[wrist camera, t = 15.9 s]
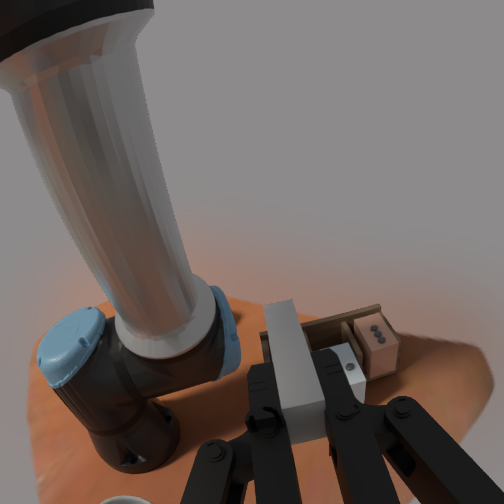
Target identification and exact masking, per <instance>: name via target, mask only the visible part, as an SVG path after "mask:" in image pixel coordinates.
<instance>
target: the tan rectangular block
mask: <svg viewBox="0 0 504 504" xmlns="http://www.w3.org/2000/svg"><path fill="white" fill-rule="evenodd" d="M354 338H355V340H356V342H357V344H358V346H359V347H360V349H361V351H362V353H363V366H364V368H365V370H366V372H367V374H368V376H369V378H373V377H376V376H379V375H382V374H385V373H388V372H391V371H394V370H395V366H396V360H397V353H398V346H399V342H398V341H397V339H396V338H395V336H394V335H393V333H392V332H391V330H390V329H389V327H388V326H387V325H386V323H385V322H384V320H383V319H382V317H381V316H380V314H379V313H376V314H372V315H369V316H365V317H362V318H358V319H354Z"/></svg>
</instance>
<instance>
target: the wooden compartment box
mask: <svg viewBox="0 0 504 504" xmlns="http://www.w3.org/2000/svg"><path fill="white" fill-rule="evenodd" d="M376 313H379V314H380V316H381V317H382V319H383V320H384V322H385V323H386V325H387V326H388V327H389V329H390V330H391V332H392V333H393V335H394V336H395V338H396V339H397V341H398V342H399V346H398V353H397V360H396V366H395V370H394V371H391V372H388V373H385V374H382V375H379V376H376V377H373V378H369V376H368V374H367V372H366V370H365V368H364V366H363V353H362V351H361V349H360V347H359V346H358V344H357V342H356V340H355V338H354V319H358V318H362V317H365V316H369V315H372V314H376ZM300 325H301V328H302V331H303V334H304V337H305V340H306V343H307V346H308V349H309V352H314V351H318V350H321V349H325V348H329V347H333V346H336V345H340V344H344V343H349V345H350V347H351V349H352V352H353V354H354V356H355V358H356V360H357V362H358V364H359V366H360V368H361V370H362V372H363V374H364V377H365V379H366V382H369V381H372V380H375V379H378V378H381V377H384V376H387V375H390V374H393V373H396V372H398V366H399V360H400V353H401V346H402V341H401V339H400V338H399V336H398V335H397V333H396V332H395V331H394V329H393V328H392V326H391V325H390V323H389V322H388V321H387V319H386V318H385V316H384V315H383V313H382V312H381V306H380V304H375V305H372V306H368V307H365V308H361V309H357V310H354V311H350V312H346V313H342V314H338V315H334V316H330V317H326V318H322V319H318V320H314V321H310V322H305V323H301V324H300ZM259 333H260V338H261V344H262V351H263V357H264V363H268V362H273V361H272V355H271V350H270V344H269V337H268V331H264V332H259Z"/></svg>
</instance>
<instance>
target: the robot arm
mask: <svg viewBox="0 0 504 504" xmlns="http://www.w3.org/2000/svg"><path fill="white" fill-rule="evenodd" d="M153 15H154V5H153V0H0V88H2V89H5V90H6V91H7V92H8V93H10V94H11V97H12V100H13V103H14V107H15V110H16V113H17V116H18V119H19V122H20V124H21V127H22V130H23V133H24V135H25V138H26V141H27V143H28V146H29V148H30V151H31V153H32V156H33V158H34V161H35V163H36V166H37V168H38V170H39V172H40V175H41V177H42V179H43V182H44V184H45V186H46V188H47V190H48V192H49V194H50V196H51V199H52V201H53V203H54V205H55V207H56V209H57V211H58V213H59V215H60V217H61V219H62V221H63V223H64V225H65V226H66V228H67V230H68V232H69V234H70V236H71V237H72V239H73V241H74V243H75V245H76V246H77V248H78V250H79V252H80V254H81V255H82V257H83V259H84V260H85V262H86V264H87V266H88V267H89V269H90V271H91V272H92V274H93V275H94V277H95V279H96V280H97V282H98V283H99V285H100V287H101V288H102V290H103V291H104V293H105V294H106V296H107V297H108V299H109V301H110V302H111V304H112V305H113V307H114V308H115V310H116V314H115V316H114V317H111V318H107V319H106V317H105V314H104V313H103V312H101V311H100V310H99V309H98V308H96V307H93V308H92V307H85V308H82V309H79V310H77V311H74V312H72V313H71V314H69V315H67V316H66V317H64V318H63V319H61V320H60V321H59V322H58V323H56V324H55V325H54V326H53V327H52V328H51V329H50V330H49V331H48V332H47V334H46V335H45V336H44V338H43V339H42V341H41V343H40V345H39V347H38V350H37V364H38V366H39V368H40V370H41V372H42V373H43V375H44V377H45V378H46V380H47V382H48V385H49V386H50V387H51V388H52V389H53V390H54V391H55V393H56V394H57V395H58V396H59V398H60V399H61V400H62V401H63V402H64V404H65V405H66V406H67V407H68V408H69V410H70V411H71V412H72V413H73V414H74V415H75V416H76V418H77V419H78V420H79V421H80V422H81V423H82V424H83V425H84V426H85V428H86V429H87V430H88V432H89V435H90V437H91V439H92V442H93V444H94V446H95V449H96V451H97V453H98V454H99V455H100V457H101V458H102V459H103V460H104V461H105V462H106V463H107V464H108V465H110V466H111V467H112V468H114V469H116V470H118V471H120V472H124V473H130V474H137V473H143V472H147V471H150V470H152V469H154V468H156V467H158V466H160V465H161V464H162V463H164V462H165V461H166V460H167V459H168V458H169V457H170V456H171V454H172V453H173V452H174V450H175V448H176V446H177V444H178V440H179V434H180V431H179V424H178V422H177V419H176V418H175V416H174V415H173V413H172V412H171V410H170V409H169V408H168V407H167V405H165V404H164V403H163V402H162V401H160V400H159V399H157V398H156V397H159V396H163V395H166V394H170V393H173V392H177V391H180V390H184V389H187V388H190V387H194V386H197V385H200V384H203V383H206V382H209V381H217V380H218V379H220V378H222V377H223V376H226V375H228V374H231V373H233V372H235V371H236V370H237V369H238V367H239V365H240V362H241V348H240V342H239V338H238V336H237V328H236V324H235V320H234V317H233V314H232V311H231V308H230V305H229V303H228V301H227V299H226V296H225V294H224V293H223V291H222V290H221V289H220V288H219V287H217V286H208V285H207V283H206V282H205V281H204V280H203V279H201V278H200V277H198V276H197V275H195V274H193V273H192V272H191V269H190V266H189V263H188V260H187V257H186V253H185V250H184V246H183V243H182V240H181V236H180V233H179V230H178V226H177V223H176V219H175V216H174V213H173V209H172V205H171V201H170V198H169V194H168V190H167V187H166V183H165V179H164V175H163V172H162V167H161V163H160V160H159V155H158V152H157V147H156V143H155V139H154V135H153V131H152V127H151V122H150V117H149V113H148V109H147V104H146V99H145V95H144V90H143V85H142V81H141V75H140V70H139V65H138V59H137V54H136V48H135V42H136V39H137V36H138V35H139V33H140V32H141V31H142V29H143V28H144V27H145V25H146V24H147V23H148V22H149V20H150V19H151V18H152V16H153ZM263 309H264V315H265V320H266V326H267V331H268V337H269V342H270V348H271V353H272V359H273V362H268V363H262V364H257V365H252V366H251V367H250V370H249V372H248V374H247V378H248V390H249V402H250V411H249V412H248V414H247V415H246V419H245V423H246V425H247V428H248V430H247V431H246V432H245V433H244V434H243V435H241V436H239V437H237V438H235V439H232V440H230V441H228V442H226V441H224V440H220V439H213V440H210V441H207V442H205V443H204V444H203V445H201V446H200V448H199V450H198V452H197V455H196V458H195V461H194V464H193V467H192V470H191V473H190V476H189V479H188V482H187V485H186V488H185V491H184V494H183V497H182V500H181V503H180V504H244V499H245V495H246V490H247V485H248V482H249V481H252V480H254V484H255V494H256V504H302V499H301V493H300V488H299V483H298V478H297V473H296V467H295V462H294V457H293V453H292V448H291V445H293V444H298V443H302V442H307V441H311V440H316V439H320V438H324V437H328V440H329V456H331V457H332V460H333V464H334V468H335V472H336V475H337V479H338V483H339V486H340V490H341V494H342V498H343V502H344V504H400V501H399V499H398V496H397V493H396V490H395V488H394V485H393V482H392V479H391V477H390V474H389V471H388V469H387V466H386V464H385V461H384V458H383V456H384V457H385V458H386V460H387V461H388V462H389V463H390V465H391V466H392V467H393V469H394V470H395V471H396V472H397V474H398V475H399V476H400V478H401V479H402V480H403V481H404V483H405V484H406V485H407V487H408V488H409V489H410V490H411V492H412V493H413V494H414V496H415V497H416V498H417V499H418V501H419V502H420V503H421V504H504V492H503V491H502V490H501V489H500V488H499V487H498V486H497V485H496V484H495V483H494V482H493V481H492V479H491V478H490V477H489V476H488V475H487V474H486V473H485V472H484V471H483V470H482V469H481V468H480V467H479V466H478V465H477V464H476V463H475V462H474V461H473V459H472V458H471V457H470V456H469V455H468V454H467V453H466V452H465V451H464V450H463V449H462V448H461V447H460V446H459V445H458V444H457V443H456V442H455V441H454V439H453V438H452V437H451V436H450V435H449V434H448V433H447V432H446V431H445V430H444V429H443V428H442V427H441V426H440V425H439V424H438V423H437V422H436V421H435V420H434V419H433V418H432V417H431V416H430V415H429V414H428V413H427V412H426V410H425V409H424V408H423V407H422V406H421V405H420V404H419V403H418V402H417V401H416V400H414V399H413V398H411V397H407V396H398V397H396V398H393V399H392V400H391V401H389V402H388V404H387V405H376V406H373V405H366V404H363V403H361V402H360V401H359V400H358V399H356V397H355V395H354V393H353V391H352V388H351V386H350V383H349V381H348V379H347V376H346V374H345V371H344V369H343V367H342V364H341V362H340V360H339V357H338V355H337V354H336V353H335V352H334V351H333V350H332V349H330V348H326V349H322V350H318V351H314V352H309V349H308V346H307V343H306V340H305V337H304V334H303V331H302V328H301V325H300V322H299V319H298V316H297V313H296V310H295V307H294V304H293V301H292V299H291V300H286V301H282V302H277V303H273V304H267V305H263ZM382 454H383V456H382Z"/></svg>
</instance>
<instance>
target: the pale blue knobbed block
mask: <svg viewBox="0 0 504 504" xmlns="http://www.w3.org/2000/svg"><path fill="white" fill-rule="evenodd" d="M329 348H330V349H332V350H333V351H334V352H335V353H336V354H337V355H338V357H339V360H340V362H341V364H342V367H343V369H344V371H345V374H346V376H347V379H348V381H349V383H350V386H351V388H352V391H353V393H354V395H355V397H356V399H358V400H359V401H360V402H361V403H363V404H364V399H365V388H366V379H365V377H364V374H363V372H362V370H361V368H360V366H359V364H358V362H357V360H356V358H355V356H354V354H353V352H352V349H351V347H350V345H349V343H344V344H340V345H336V346H333V347H329ZM325 349H326V348H325ZM321 350H322V349H321Z"/></svg>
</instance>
